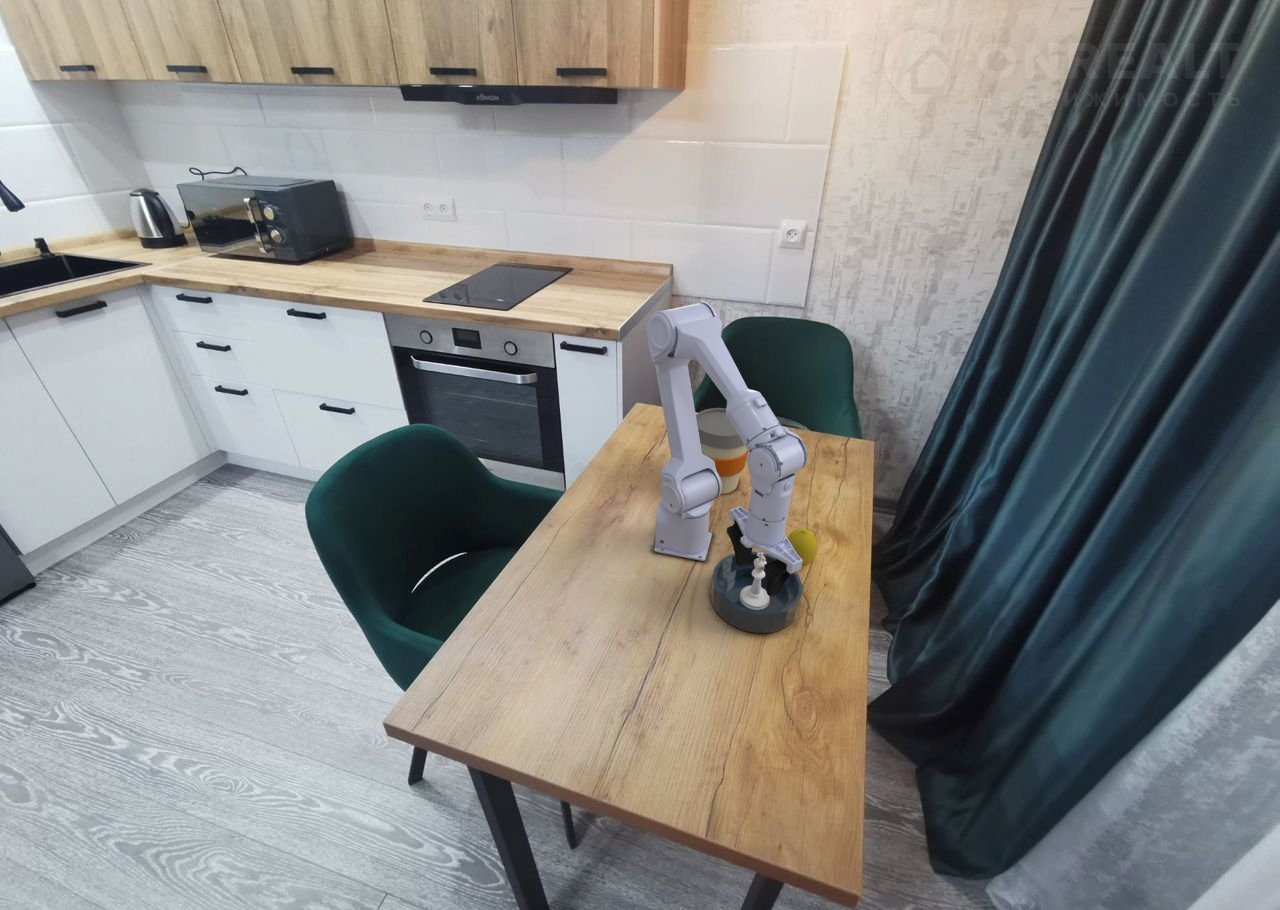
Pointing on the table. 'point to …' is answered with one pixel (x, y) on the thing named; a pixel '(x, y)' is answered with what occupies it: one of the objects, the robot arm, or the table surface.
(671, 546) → the robot arm
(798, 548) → the lemon
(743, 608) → the bowl
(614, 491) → the table surface
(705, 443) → the reusable coffee cup
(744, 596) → the chess piece
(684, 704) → the table surface
